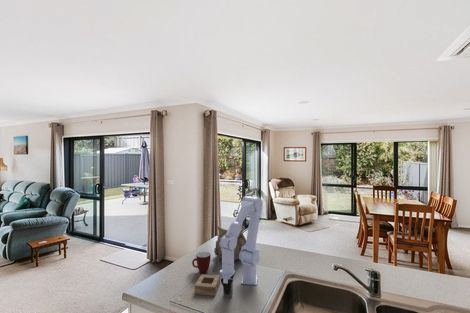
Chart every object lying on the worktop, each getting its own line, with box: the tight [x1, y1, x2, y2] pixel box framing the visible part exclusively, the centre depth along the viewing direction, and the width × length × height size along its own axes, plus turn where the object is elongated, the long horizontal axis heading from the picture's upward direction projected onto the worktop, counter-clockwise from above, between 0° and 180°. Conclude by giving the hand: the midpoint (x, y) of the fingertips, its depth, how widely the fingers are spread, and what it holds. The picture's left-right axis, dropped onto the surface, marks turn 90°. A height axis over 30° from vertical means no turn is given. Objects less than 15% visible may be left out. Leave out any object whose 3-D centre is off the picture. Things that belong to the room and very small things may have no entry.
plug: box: [222, 277, 234, 299], centre depth 110 cm, size 4×4×7 cm
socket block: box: [194, 273, 221, 297], centre depth 116 cm, size 11×10×4 cm
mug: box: [191, 251, 212, 275], centre depth 133 cm, size 10×8×10 cm
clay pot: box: [213, 223, 247, 261], centre depth 153 cm, size 25×24×22 cm
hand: (228, 290), depth 110 cm, fingers open, 5 cm apart
